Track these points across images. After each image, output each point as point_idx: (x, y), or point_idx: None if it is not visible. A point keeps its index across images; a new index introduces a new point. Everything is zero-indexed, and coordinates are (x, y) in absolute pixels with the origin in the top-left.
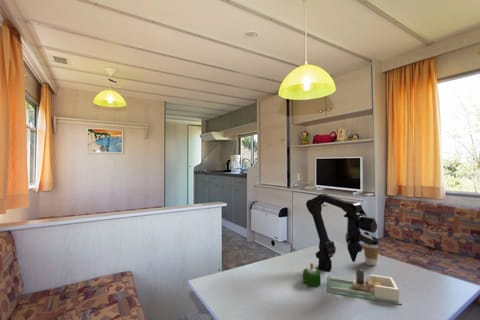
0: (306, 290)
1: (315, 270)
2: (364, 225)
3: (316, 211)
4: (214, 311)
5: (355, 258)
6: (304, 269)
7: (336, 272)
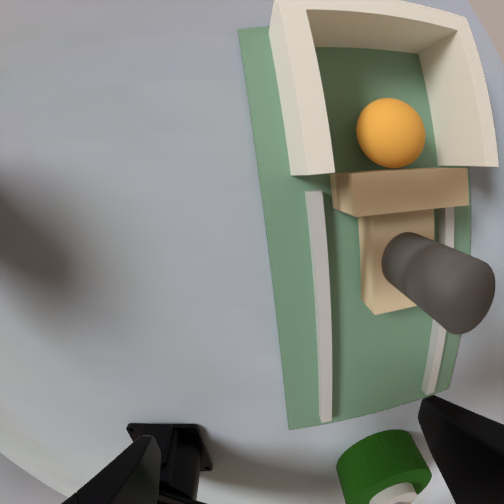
0: None
1: (406, 494)
2: None
3: None
4: None
5: (476, 417)
6: None
7: (186, 396)
